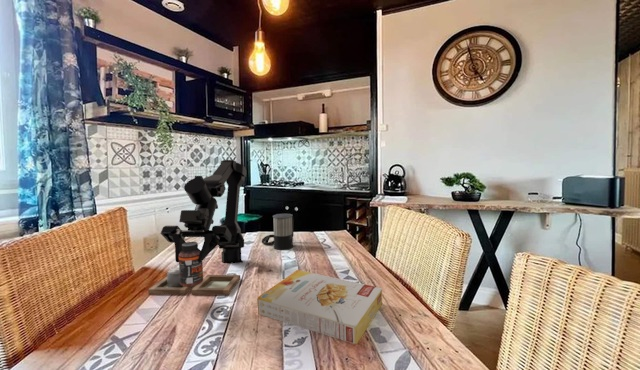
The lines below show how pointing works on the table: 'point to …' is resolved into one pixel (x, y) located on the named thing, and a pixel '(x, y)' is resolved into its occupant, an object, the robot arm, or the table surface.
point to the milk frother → (281, 232)
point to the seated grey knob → (173, 278)
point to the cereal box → (322, 304)
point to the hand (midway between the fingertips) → (188, 261)
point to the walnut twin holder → (200, 286)
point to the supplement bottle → (190, 265)
